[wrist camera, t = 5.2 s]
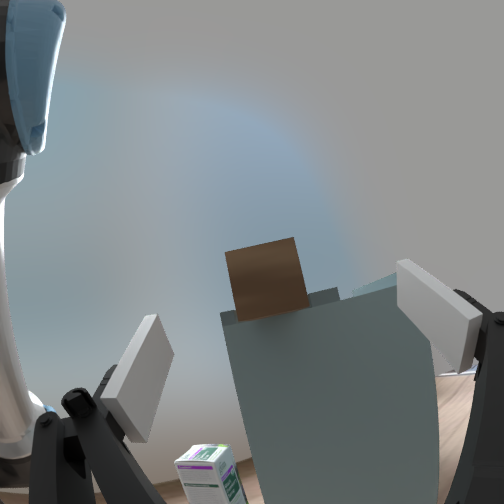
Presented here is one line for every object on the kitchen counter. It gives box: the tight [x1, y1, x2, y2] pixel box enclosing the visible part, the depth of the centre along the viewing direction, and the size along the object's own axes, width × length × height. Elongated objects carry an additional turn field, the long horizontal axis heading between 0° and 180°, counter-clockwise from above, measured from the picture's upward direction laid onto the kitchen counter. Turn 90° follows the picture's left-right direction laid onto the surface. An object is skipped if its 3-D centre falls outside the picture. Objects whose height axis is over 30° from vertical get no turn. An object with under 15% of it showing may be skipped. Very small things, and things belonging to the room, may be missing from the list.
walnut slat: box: [225, 237, 310, 322], centre depth 31 cm, size 29×4×4 cm, turn 175°
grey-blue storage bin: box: [220, 273, 439, 504], centre depth 31 cm, size 18×20×31 cm
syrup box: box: [174, 444, 248, 504], centre depth 29 cm, size 6×6×14 cm
